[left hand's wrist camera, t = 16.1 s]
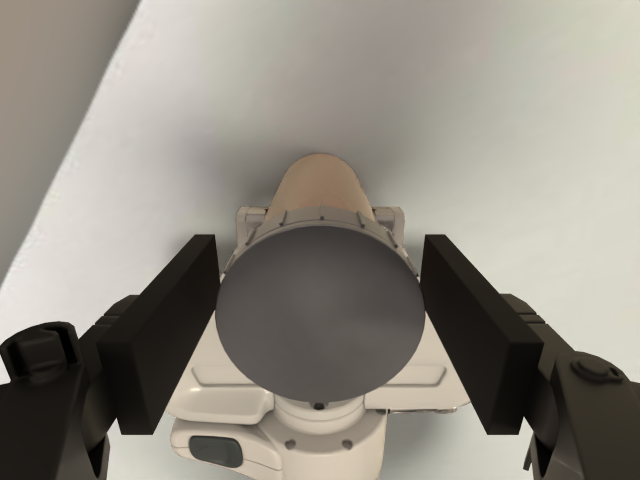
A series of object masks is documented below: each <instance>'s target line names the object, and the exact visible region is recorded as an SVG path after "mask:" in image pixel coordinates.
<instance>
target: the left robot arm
mask: <svg viewBox="0 0 640 480" xmlns="http://www.w3.org/2000/svg"><path fill="white" fill-rule="evenodd" d="M220 285H221V284H220V275H219V267H218V258H217V250H216V241H215V235H194V236H193V237H192V238H191V240H190V241H189V242H188V243H187V244H186V245H185V246H184V247H183V248H182V249H181V250H180V252H179V253H178V254H177V255H176V256H175V257H174V258H173V259H172V260H171V261H170V262H169V263H168V265H167V266H166V267H165V268H164V269H163V270H162V271H161V272H160V273H159V274H158V275H157V276H156V278H155V279H154V280H153V281H152V282H151V283H150V284H149V285H148V286H147V287H146V288H145V289H144V291H143V292H142V293H141V294H140V295H129V296H127V297H125V298H124V299H122V300H120V301H118V302H117V303H115V304H114V305H113V306H112V307H111V308H110V309H109V310H108V311H107V312H106V313H105V314H104V316H102V317H101V318H100V319H99V320H98V321H96V322H95V325H92V326H91V327H90V328H89V329H88V330H87V331H86V332H85V333H84V334H83V335H82V336H81V337H80V338H79V339H78V337H77V334H76V330H75V327H74V326H73V325H72V324H70V323H69V322H60V321H57V322H48V323H43V324H39V325H36V326H32V327H29V328H27V329H25V330H22V331H20V332H18V333H16V334H14V335H13V336H11V337H10V338H8V339H6V340H5V341H4V342H3V343H2V344H1V345H0V355H1V357H2V360H3V362H4V365H5V367H6V370H7V372H8V374H9V377H10V379H11V381H10V383H7V384H2V385H0V480H106V478H107V469H108V461H109V452H110V443H109V438H108V435H107V432H108V430H109V428H110V427H111V425H112V424H113V422H114V421H115V419H116V417H117V421H118V424H119V428H120V431H121V435H153V433H154V431H155V429H156V427H157V425H158V423H159V421H160V419H161V417H162V415H163V413H164V411H165V409H166V407H167V405H168V403H169V401H170V399H171V397H172V395H173V393H174V391H175V389H176V387H177V385H178V383H179V381H180V379H181V377H182V375H183V373H184V371H185V369H186V367H187V365H188V363H189V361H190V359H191V357H192V355H193V353H194V351H195V349H196V347H197V345H198V343H199V341H200V339H201V337H202V335H203V333H204V331H205V329H206V327H207V325H208V323H209V321H210V319H211V317H212V315H213V313H214V311H215V304H216V298H217V293H218V290H219V287H220ZM420 286H421V289H422V291H423V295H424V301H425V311H426V313H427V315H428V317H429V319H430V321H431V323H432V325H433V327H434V329H435V331H436V333H437V335H438V337H439V339H440V341H441V343H442V345H443V347H444V349H445V351H446V353H447V355H448V357H449V359H450V361H451V363H452V365H453V367H454V369H455V371H456V373H457V375H458V377H459V379H460V381H461V383H462V385H463V387H464V389H465V391H466V393H467V395H468V397H469V399H470V401H471V403H472V405H473V407H474V409H475V411H476V413H477V415H478V417H479V419H480V421H481V423H482V425H483V427H484V429H485V431H486V433H487V435H519V431H520V428H521V424H522V421H523V417H525V419H526V420H527V422H528V423H529V425H530V426H531V428H532V430H533V431H534V432H533V435H532V438H531V442H530V445H529V448H528V451H527V455H526V458H525V461H524V467H523V469H524V470H527V471H528V470H529V467H530V464H531V463H532V468H533V477H534V480H640V383H636V382H631V381H630V380H629V379H628V378H627V376H626V375H625V374H624V373H623V371H621V370H620V369H619V368H617V367H616V366H615V365H613V364H612V363H610V362H608V361H606V360H604V359H602V358H600V357H598V356H595V355H591V354H588V353H585V352H578V351H574V350H573V349H572V348H571V347H570V346H569V345H568V344H567V343H566V342H565V341H564V340H563V339H562V338H561V337H560V336H559V335H558V334H557V333H556V332H555V331H554V330H553V329H552V328H551V327H550V326H549V325H548V324H545V321H544V320H543V319H542V318H541V317H540V316H539V315H537V314H536V312H535V311H534V310H533V309H532V308H531V307H530V306H529V305H528V304H527V303H526V302H524V301H522V300H521V299H519V298H517V297H515V296H514V295H512V294H499V293H498V292H497V291H496V289H495V288H494V287H493V286H492V285H491V284H490V283H489V282H488V281H487V280H486V279H485V278H484V276H483V275H482V274H481V273H480V272H479V271H478V270H477V269H476V268H475V267H474V266H473V265H472V263H471V262H470V261H469V260H468V259H467V258H466V257H465V256H464V255H463V254H462V253H461V252H460V250H459V249H458V248H457V247H456V246H455V245H454V244H453V243H452V242H451V241H450V240H449V238H448V237H447V236H446V235H425V241H424V250H423V258H422V267H421V275H420Z"/></svg>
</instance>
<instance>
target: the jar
mask: <svg viewBox="0 0 640 480" xmlns="http://www.w3.org/2000/svg"><path fill="white" fill-rule="evenodd" d="M320 204H324V206H329V207H337V208H342V209H346V210H350V211H353V212H356V213H357V211H360V212H361V214H362V215H363V216H365V217H367V218H369V219H371V220H373V221H374V222H376V223H377V224H379V223H378V221H377V218H376V216H375V214H374V212H373V210H372V208H371V206H370V204H369V202H368V199H367V197H366V195H365V193H364V191H363V189H362V187H361V185H360V183H359V180H358V178H357V176H356V174H355V173H354V171H353V170H352V168H351V167H350V166H349V165H348V164H347V163H346V162H344V161H343V160H341V159H340V158H338V157H335V156H333V155H329V154H311V155H308V156H305V157H303V158H301V159H299V160H297V161H296V162H295V163H293V164H292V165H291V166H290V167H289V169H288V170H287V171H286V173H285V175H284V177H283V179H282V181H281V183H280V185H279V187H278V189H277V191H276V194H275V196H274V198H273V200H272V202H271V204H270V206H269V208H268V211H267V213H266V215H265V217H264V219H263V221H262V223H261V225H262V224H263V223H265V222H266V221H268V220H270V219H272V218H273V217H275V216H277V215H280V214H282V212H283V210H285V209H286V210H287V211H291V210H294V209H298V208H304V207H311V206H320Z"/></svg>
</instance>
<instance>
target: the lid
mask: <svg viewBox="0 0 640 480" xmlns="http://www.w3.org/2000/svg"><path fill="white" fill-rule="evenodd" d="M223 274H225V276H224V278H223V280H222V282H221V285H220V287H219V290H218V293H217V298H216V304H215V321H216V329H217V332H218V336H219V339H220V342H221V344H222V346H223V348H224V351H225V352H226V354H227V355H228V357H229V359H230V360H231V361H232V363H233V364H234V365H235V366H236V367H237V369H238V370H239V371H240V372H241V373H242V374H244V375H245V376H246V377H247V378H248V379H249V380H251V381H252V382H254V383H255V384H256V385H258V386H260V387H262V388H263V389H265V390H267V391H269V392H271V393H274V394H276V395H279V396H282V397H285V398H288V399H292V400H297V401H302V402H312V403H328V402H338V401H343V400H348V399H352V398H356V397H359V396H362V395H364V394H367V393H369V392H371V391H374V390H375V389H377V388H379V387H381V386H382V385H384V384H386V383H387V382H388V381H390V380H391V379H392V378H394V377H395V376H396V375H397V374H398V373H399V372H400V371H401V370H402V369H403V368H404V367H405V366H406V364H407V363H408V362H409V361H410V359H411V358H412V356H413V355H414V353H415V352H416V350H417V347H418V345H419V343H420V341H421V338H422V334H423V331H424V326H425V318H426V312H425V301H424V295H423V291H422V289H421V286H420V283H419V281H418V279H417V277H419V275H418V273H417V271H416V269H415V268H414V266H413V264H412V262H411V261H410V259H409V257H405V255H404V253H403V251H402V249H401V247H400V246H399V245H398V243H397V242H396V240H395V238H394V237H393V235H392V233H391V231H390V230H389V229H388V230H387V231H386V230H385V229H384V228H382V227H381V226H380V225H379V224H377V223H376V222H374V221H373V220H371V219H369V218H367V217H365V216H363V215H362V214H361V212H360V211H357V213H356V212H353V211H350V210H346V209H342V208H337V207H329V206H324V204H320V206H311V207H304V208H298V209H294V210H291V211H287V210H286V209H285V210H283V212H282V214H280V215H277V216H275V217H273V218H272V219H270V220H268V221H266V222H265V223H263V224H262V225H261V226H259V227H258V228H257V229H256V228H255V227H254V228H253V229H252V231H251V233H250V234H249V236H248V237H247V239H246V240H245V241H244V243H243V244H242V245H241V247H240V248H239V250H238V252H237V254H233V256H232V257H231V259H230V261H229V263H228V265H227V266H226V268H225V270H224V272H223Z"/></svg>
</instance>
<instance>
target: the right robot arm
mask: <svg viewBox="0 0 640 480" xmlns="http://www.w3.org/2000/svg"><path fill="white" fill-rule="evenodd" d="M268 208H269V207H250V206H249V207H240V209H239V210H238V212H237V214H236V231H237V242H238V245H237V246H236V248H235V250H234V252H233V254H237V252H238V250H239V248H240V247H241V245H242V244H243V243H244V241H245V240H246V239H247V237H248V236H249V234H250V233H251V231H252V229H253V228H254V227H255V228H256V229H257V228H258V227H259V226H261V223H262V221H263V219H264V217H265V215H266V213H267V211H268ZM372 210H373V212H374V214H375V216H376V218H377V221H378V223H379V225H380V226H381V227H382V228H384V229H385V230H386V231H387V230H388V229H389V230H390V231H391V233H392V235H393V237H394V238H395V240H396V242H397V243H398V245H399V246H400V247H401V249H402V251H403V253H404V255H405V257H409V256H408V254H407V252H406V250H405V248H404V246H403V245H402V244H403V233H404V223H405V220H404V213H403V211H402V210H401V209H400V207H372ZM233 254H232V256H233ZM232 256H231V257H232ZM230 259H231V258H230ZM409 259H410V258H409ZM229 261H230V260H229ZM229 261H228V263H229ZM410 261H411V260H410ZM228 263H227V265H228ZM227 265H226V266H227ZM413 266H414V265H413ZM225 268H226V267H225ZM414 268H415V267H414ZM224 270H225V269H224ZM223 272H224V271H223ZM224 276H225V274H223V273H222V275H221V277H220V284H221V282H222V280H223V278H224ZM417 279H418V281H419V283H420V277H417ZM425 312H426V311H425ZM470 402H471V401H470V399H469V397H468V395H467V393H466V391H465V389H464V387H463V385H462V383H461V381H460V379H459V377H458V375H457V373H456V371H455V369H454V367H453V365H452V363H451V361H450V359H449V357H448V355H447V353H446V351H445V349H444V347H443V345H442V343H441V341H440V339H439V337H438V335H437V333H436V331H435V329H434V327H433V325H432V323H431V321H430V319H429V317H428V315H427V313H426V318H425V326H424V331H423V334H422V338H421V341H420V343H419V345H418V347H417V350H416V352H415V353H414V355H413V356H412V358H411V359H410V361H409V362H408V363H407V364H406V366H405V367H404V368H403V369H402V370H401V371H400V372H399V373H398V374H397V375H396V376H395V377H394V378H392V379H391V380H390V381H388V382H387V383H386V384H384V385H382V386H381V387H379V388H377V389H375V390H374V391H371V392H369V393H367V394H364V395H362V396H359V397H356V398H352V399H348V400H343V401H338V402H328V403H312V402H302V401H297V400H292V399H288V398H285V397H282V396H279V395H276V394H274V393H271V392H269V391H267V390H265V389H263V388H262V387H260V386H258V385H256V384H255V383H254V382H252V381H251V380H249V379H248V378H247V377H246V376H245V375H244V374H242V373H241V372H240V371H239V370H238V369H237V367H236V366H235V365H234V364H233V363H232V361H231V360H230V359H229V357H228V355H227V354H226V352H225V351H224V348H223V346H222V344H221V342H220V339H219V336H218V332H217V329H216V321H215V311H214V313H213V315H212V317H211V319H210V321H209V323H208V325H207V327H206V329H205V331H204V333H203V335H202V337H201V339H200V341H199V343H198V345H197V347H196V349H195V351H194V353H193V355H192V357H191V359H190V361H189V363H188V365H187V367H186V369H185V371H184V373H183V375H182V377H181V379H180V381H179V383H178V385H177V387H176V389H175V391H174V393H173V395H172V397H171V399H170V401H169V403H168V405H167V407H166V409H165V411H166V412H168V413H169V414H171V415H172V416H175V417H176V418H175V421H174V425H173V428H172V431H171V435H170V441H171V446H172V449H173V450H174V452H175V453H176V454H178V455H179V456H181V457H184V458H188V459H192V460H196V461H201V462H205V463H209V464H213V465H217V466H220V467H224V468H227V469H230V470H233V471H236V472H239V473H241V474H244V475H247V476H249V477H251V478H253V479H255V480H378V477H379V475H380V472H381V468H382V462H383V453H384V444H385V433H386V423H387V415H388V413H389V414H391V413H392V414H411V413H420V412H435V413H439V414H447V413H453V412H455V411H456V410H457V407H459V406H463V405H466V404H468V403H470Z"/></svg>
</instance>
